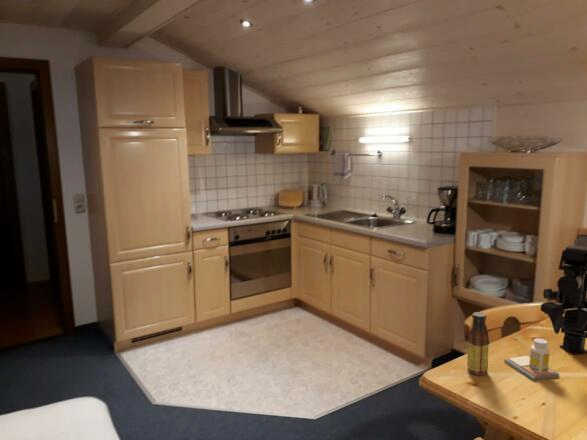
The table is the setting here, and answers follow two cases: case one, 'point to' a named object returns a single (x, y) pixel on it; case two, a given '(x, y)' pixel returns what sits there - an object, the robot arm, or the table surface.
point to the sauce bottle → (478, 346)
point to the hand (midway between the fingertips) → (567, 332)
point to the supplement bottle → (539, 356)
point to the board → (523, 367)
